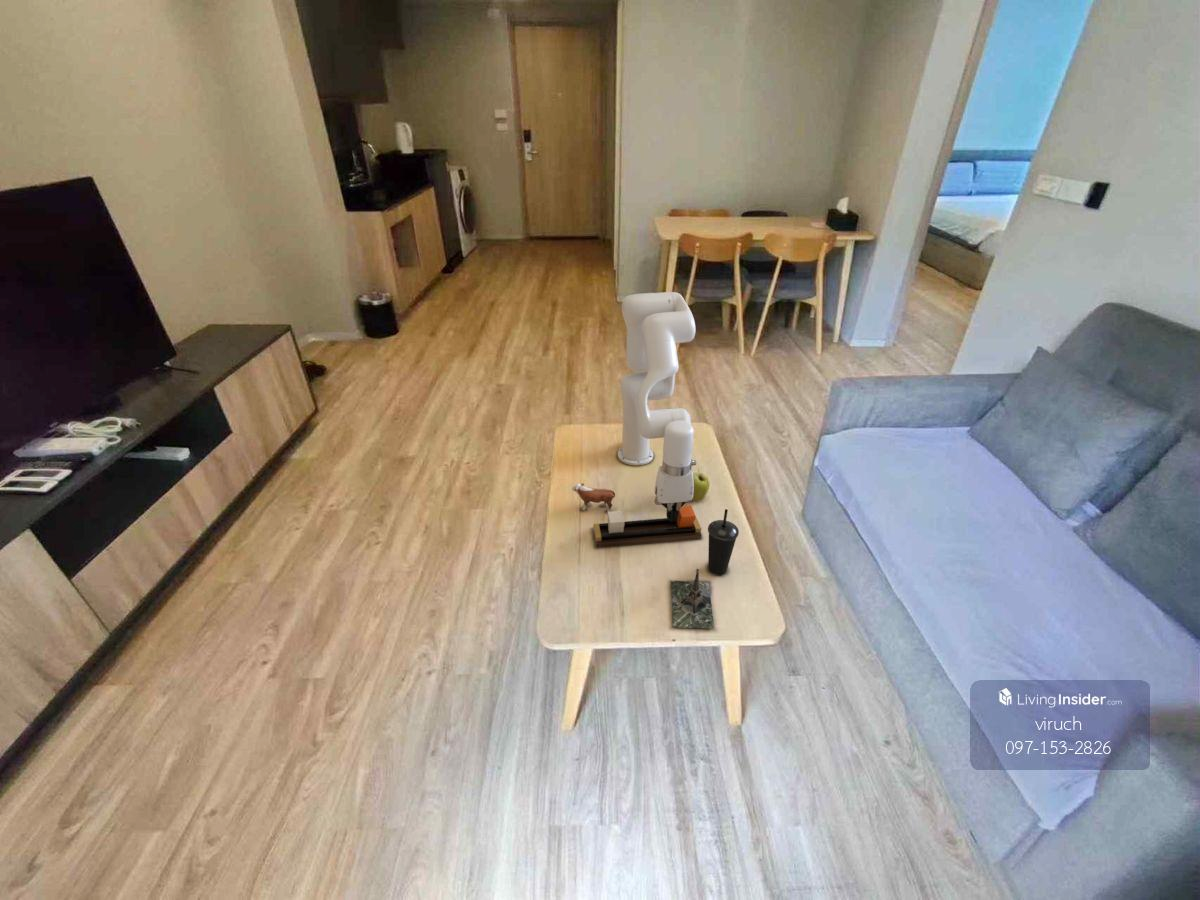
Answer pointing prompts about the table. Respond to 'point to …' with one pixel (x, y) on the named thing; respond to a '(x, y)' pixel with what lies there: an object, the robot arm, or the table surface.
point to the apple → (700, 486)
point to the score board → (646, 539)
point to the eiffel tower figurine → (691, 604)
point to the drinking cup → (721, 544)
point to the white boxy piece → (615, 522)
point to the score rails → (647, 533)
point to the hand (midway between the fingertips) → (671, 518)
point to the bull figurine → (594, 495)
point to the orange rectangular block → (686, 516)
